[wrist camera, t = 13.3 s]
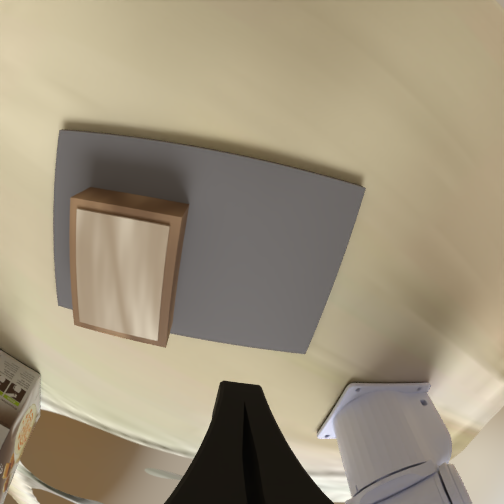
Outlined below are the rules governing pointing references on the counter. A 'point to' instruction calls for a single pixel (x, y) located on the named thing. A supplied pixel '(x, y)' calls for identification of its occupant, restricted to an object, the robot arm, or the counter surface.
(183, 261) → the mat
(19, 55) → the counter surface
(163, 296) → the slab
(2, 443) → the coffee box
